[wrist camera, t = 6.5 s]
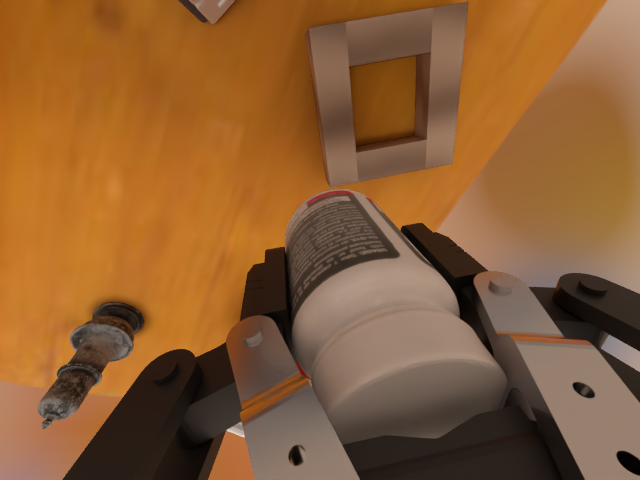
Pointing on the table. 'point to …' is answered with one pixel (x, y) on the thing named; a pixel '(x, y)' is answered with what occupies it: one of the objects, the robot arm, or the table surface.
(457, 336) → the pill bottle
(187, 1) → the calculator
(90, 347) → the rusty flanged peg
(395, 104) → the table surface
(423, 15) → the gray square frame
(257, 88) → the table surface
